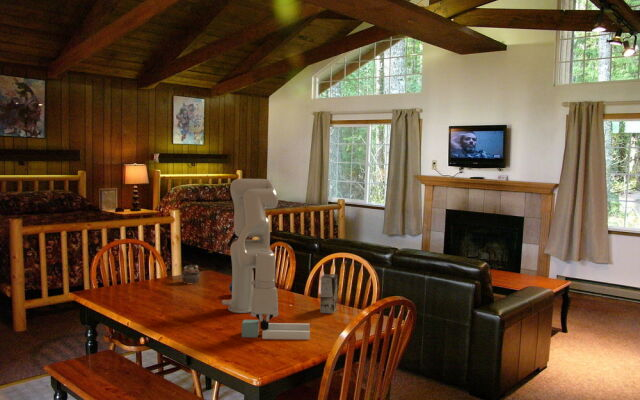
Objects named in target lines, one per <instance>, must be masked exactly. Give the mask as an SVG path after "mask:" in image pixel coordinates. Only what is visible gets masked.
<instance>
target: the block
mask: <svg viewBox="0 0 640 400" xmlns="http://www.w3.org/2000/svg"><path fill="white" fill-rule="evenodd" d="M259 326H260V320H259V319H243V321H242V323H241V338H258V337H259V334H260V333H259V332H260V327H259Z"/></svg>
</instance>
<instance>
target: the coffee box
mask: <svg viewBox="0 0 640 400" xmlns="http://www.w3.org/2000/svg"><path fill="white" fill-rule="evenodd" d="M338 277H339V274H336V273H329V274H328V273H323V275H321V277H320V301H319V303H320V304H319V307H320V308H319V309H320V310H319V313H322V314H333V315H334V313H335V312H336V310H337V309H338Z"/></svg>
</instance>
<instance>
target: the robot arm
mask: <svg viewBox="0 0 640 400" xmlns="http://www.w3.org/2000/svg"><path fill="white" fill-rule="evenodd" d="M229 190H230V195H231V198H232V202H233V208H234V211H233V213H234V220H233V223H234V224H233V226H234V228H233V230H234V231H233V232H234V234H235V236H236V237H238V239H237V240H235V241H233V242H232V243H231V245H230V256H231V257H230V259H231V268H232V269H231V270H232V271H231V272H232V273H231V274H232V275H231V279H232V281H231V282H232V293H231V299H229V300H226V299H222V300H221V301H222V302H221V304H222V305H223V306H228V309H227V310H228V311H229V312H231V313H236V314H247V313H250V316H251V317H255V318H257V320H259V323H260V330H261V332H262V331H263V330H267V329H268V323H270V320H272V318H275V317H278V316H279V300H278V296H279V295H278V288H277V286H276V254H275V253H274V251H273V250H272V249H271V247H270V246H271V245H270V243H271V242H270V241H271V225H270V220H269V218H268V217H267V214H266V209H268V210H270V209H276V208H277V207H278V204H279V196H278V193H277V189H276V188H275V186H274V185H273V183H272V181H270V180H269V179H265V178H237V179H234V180H232V181H231V184H230V188H229ZM247 238H258V239H247ZM254 269H255V271H254ZM254 272H255V275H254ZM254 276H255V277H254ZM254 278H255V279H254ZM264 315H266V318H264Z"/></svg>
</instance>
